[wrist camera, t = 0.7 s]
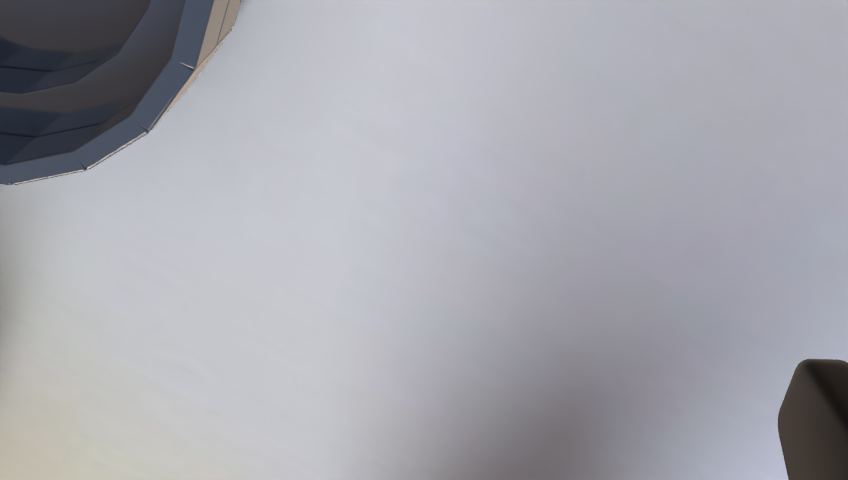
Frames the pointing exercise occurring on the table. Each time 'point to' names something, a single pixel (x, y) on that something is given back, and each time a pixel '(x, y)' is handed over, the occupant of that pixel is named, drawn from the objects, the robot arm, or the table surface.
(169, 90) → the bowl
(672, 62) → the table surface
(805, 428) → the robot arm
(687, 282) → the table surface
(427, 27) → the table surface
